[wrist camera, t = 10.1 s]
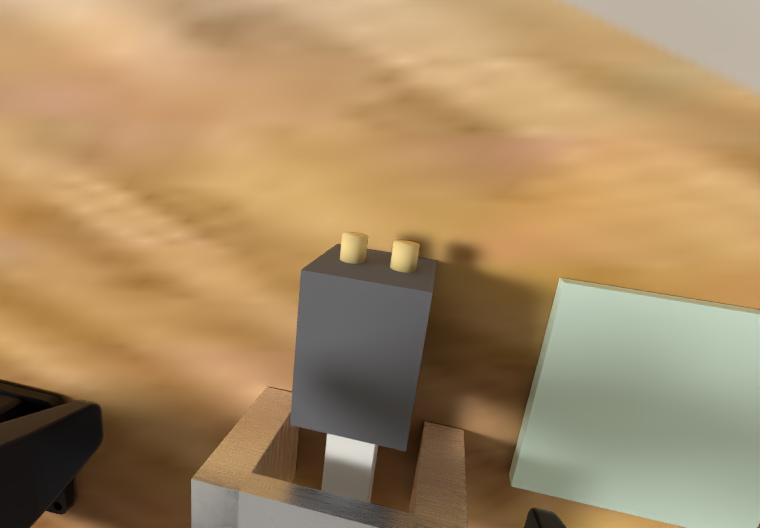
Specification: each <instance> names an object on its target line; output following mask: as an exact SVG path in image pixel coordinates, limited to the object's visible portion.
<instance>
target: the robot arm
mask: <svg viewBox="0 0 760 528" xmlns="http://www.w3.org/2000/svg"><path fill="white" fill-rule="evenodd" d="M102 440H103V422H102V410H101V407H100V405H99V404H97V403H94V402H89V401H85V400H77V401H74V402H70V403H67V404H62V402H61V401H60V399H58V398H57V397H55V396H53V395H49V394H44V393H40V392H36V391H32V390H28V389H24V388H20V387H15V386H11V385H7V384H3V383H0V528H30V527H31V526H32V525H33V524H34V523H35V522H36V521H37V520H38V519H39V518H40V516H41V515H42V514H43V513H44V512H45V511H49V512H53V513H56V514H61V515H62V514H65V513H66V512H67V511H68V510H69V509H70V508H71V507H72V506H73V505H74V498H73V488H72V479H73V478H74V476H75V475H76V474H77V473H78V472H79V470H80V469H81V468H82V467H83V466H84V464H85V463H86V462H87V461H88V460H89V458H90V457H91V456H92V455H93V454H94V452H95V451H96V450H97V449H98V448H99V446H100V444H101V442H102ZM524 528H566V526H565V525H564V524H563V523H562V521H561V520H560V519H559V517H558V516H557V515H556V514H555V513H553V512H551V511H547V510H543V509H538V508H531V509H530V511H529V513H528V516H527V519H526V523H525V526H524Z"/></svg>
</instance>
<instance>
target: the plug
mask: <svg viewBox="0 0 760 528" xmlns="http://www.w3.org/2000/svg"><path fill="white" fill-rule="evenodd" d="M367 243H368V236H367V235H365V234H361V233H355V232H345V233H342V242H341V244H337V245H335V246H334V247H332V248H331V249H330V250H328V251H327V252H325V253H324V254H323V255H321V256H320V257H318V258H317V259H316V260H314V261H313V262H311V263H310V264H309V265H307V266H306V267H304V268H303V269H302V270H301V279H300V293H299V307H298V321H297V335H296V349H295V362H294V376H293V390H292V404H291V418H290V425H293V426H297V427H301V428H306V429H310V430H314V431H319V432H323V433H327V441H326V450H325V460H324V470H323V479H322V489H321V491H325V492H329V493H333V494H337V495H341V496H345V497H349V498H353V499H357V500H361V501H365V502H369V503H370V500H371V493H372V486H373V480H374V473H375V466H376V459H377V452H378V445H379V446H383V447H388V448H392V449H396V450H401V451H405V452H406V447H407V441H408V435H409V430H410V424H411V418H412V412H413V406H414V400H415V394H416V388H417V383H418V377H419V371H420V365H421V359H422V353H423V347H424V342H425V336H426V330H427V324H428V318H429V312H430V306H431V300H432V295H433V288H434V281H435V273H436V266H437V260H433V259H426V258H420V257H418V254H419V247H420V245H419V244H418V243H415V242H412V241H406V240H395V241H394V242H393V249H392V253H390V252H384V251H377V250H371V249H367Z"/></svg>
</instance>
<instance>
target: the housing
mask: <svg viewBox="0 0 760 528" xmlns="http://www.w3.org/2000/svg"><path fill="white" fill-rule="evenodd" d="M291 404H292V392H288V391H284V390H279V389H274V388H270V387H267V388H266V389H265V390H264V391H263V392H262V394H261V395H260V396H259V397H258V398H257V400H256V401H255V402H254V403H253V404H252V406H251V407H250V408H249V409H248V411H247V412H246V413H245V414H244V415H243V417H242V418H241V419H240V420H239V421H238V423H237V424H236V425H235V426H234V427H233V429H232V430H231V431H230V432H229V434H228V435H227V436H226V437H225V438H224V440H223V441H222V442H221V443H220V444H219V446H218V447H217V448H216V449H215V450H214V452H213V453H212V454H211V455H210V457H209V458H208V459H207V460H206V461H205V463H204V464H203V465H202V466H201V467H200V469H199V470H198V471H197V472H196V473H195V475H194V476H193V477H192V478H191V524H192V528H468V515H467V494H466V472H465V451H464V430H462V429H457V428H452V427H448V426H443V425H439V424H434V423H430V422H425V421H424V427H423V433H422V438H421V444H420V449H419V455H418V460H417V466H416V472H415V477H414V483H413V488H412V494H411V500H410V506H409V512H405V511H401V510H397V509H393V508H389V507H385V506H381V505H377V504H373V503H369V502H365V501H361V500H357V499H353V498H349V497H345V496H341V495H337V494H333V493H329V492H325V491H321V490H317V489H313V488H310V487H306V486H302V485H298V484H294V483H292V481H293V479H294V477H295V474H296V462H297V449H298V436H299V427H297V426H293V425H290V418H291Z"/></svg>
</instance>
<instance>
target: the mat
mask: <svg viewBox="0 0 760 528" xmlns="http://www.w3.org/2000/svg"><path fill="white" fill-rule="evenodd" d="M509 478H510V483H511V487H516V488H520V489H524V490H528V491H533V492H537V493H541V494H545V495H550V496H554V497H558V498H562V499H567V500H571V501H575V502H579V503H584V504H588V505H592V506H596V507H601V508H605V509H609V510H613V511H618V512H622V513H626V514H631V515H635V516H639V517H643V518H648V519H652V520H656V521H660V522H665V523H669V524H673V525H677V526H682V527H686V528H757V527H758V525H759V523H760V310H758V309H752V308H746V307H740V306H734V305H727V304H721V303H715V302H709V301H703V300H696V299H690V298H684V297H678V296H671V295H665V294H659V293H653V292H647V291H640V290H634V289H628V288H622V287H615V286H609V285H603V284H597V283H591V282H584V281H578V280H572V279H566V278H559V282H558V286H557V289H556V293H555V297H554V301H553V305H552V309H551V313H550V317H549V320H548V324H547V328H546V332H545V336H544V340H543V344H542V348H541V351H540V355H539V359H538V363H537V367H536V371H535V375H534V379H533V382H532V386H531V390H530V394H529V398H528V402H527V406H526V410H525V413H524V417H523V421H522V425H521V429H520V433H519V437H518V441H517V444H516V448H515V452H514V456H513V460H512V464H511V468H510V472H509Z"/></svg>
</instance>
